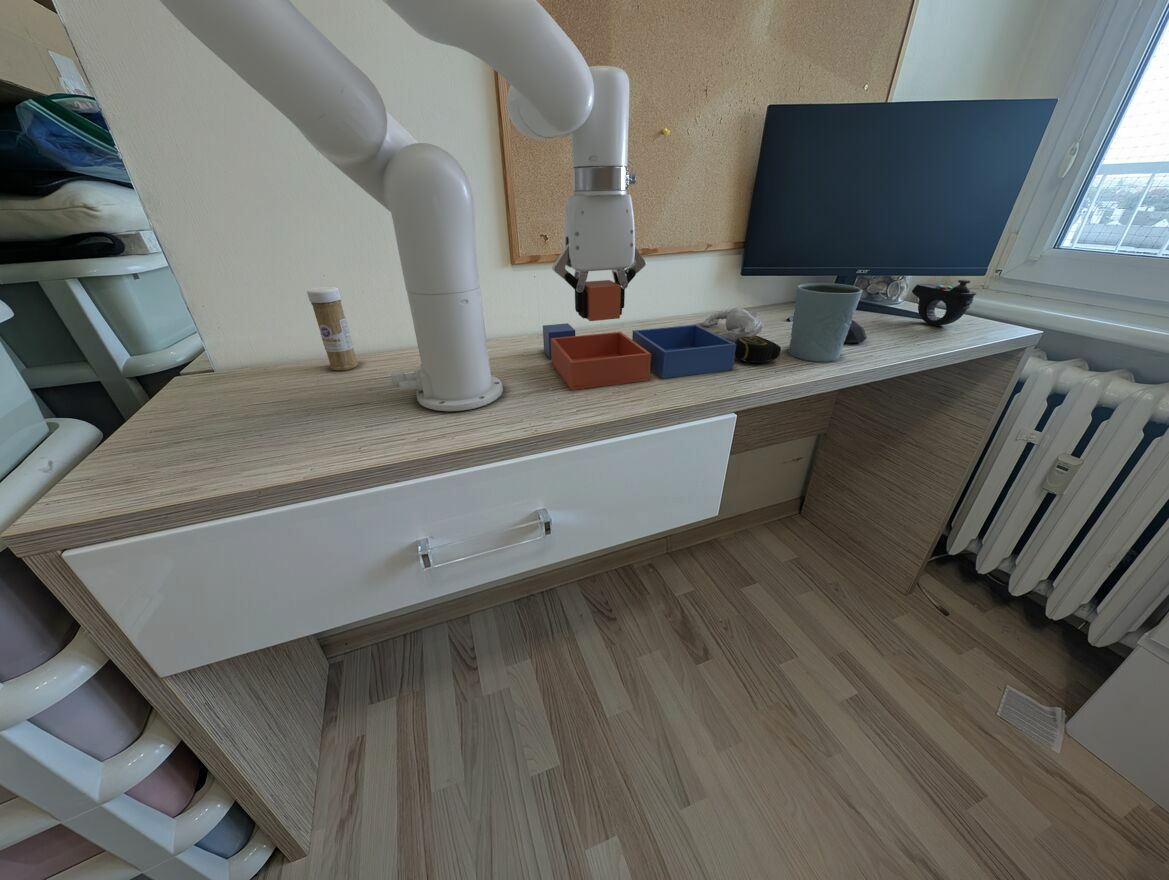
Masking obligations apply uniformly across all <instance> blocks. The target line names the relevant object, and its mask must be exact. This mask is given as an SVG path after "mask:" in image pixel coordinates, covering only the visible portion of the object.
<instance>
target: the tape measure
mask: <svg viewBox="0 0 1169 880" xmlns="http://www.w3.org/2000/svg"><path fill="white" fill-rule="evenodd" d="M735 344H736V350H735V356H734V357H735V358H737V359H739V360H742V361H744V362H746V363H748V364H750V363H760V364H761V363H766V362H769V361H773V360H776V359H778V358H779V357H780V355H781V352H782V347H781V346H779V344H778V343H775V342H774V341H772V340H769V339H767V338H764V337H762V336H759V335H756V336H742V337H739V338H738V339H737V340H736V342H735Z"/></svg>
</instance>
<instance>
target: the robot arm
mask: <svg viewBox="0 0 1169 880" xmlns="http://www.w3.org/2000/svg"><path fill="white" fill-rule="evenodd" d="M159 2H160V3H161V4H162V5H163V6H164V7H165V8H166V9H167V10H168V11H169V12H170V13H171V14H172V16H173V17H174V18H175V19H176V20H177V21H179V22H180V24H182V25H183V26H184V28H185V29H187V30H188V31H189V32H190V33H191V34H192V35H193V36H194V37H196V39H197V40H199V41H200V42H201V43H202V44H203V45H204V46H205V47H206V48H207V49H208V50H210V52H212V53H213V54H214V55H215V56H216V57H217V58H218V59H220V60H221V61H222V62H223V63H224V64H225V65H226V66H227V67H229V68H230V69H231V70H232V71H233V72H235V73H236V75H238V77H240V78H241V79H242V80H243V81H244V82H245V83H246V84H248V86H249V87H251V89H253V90H254V91H256V92H257V93H258V94H259V95H260V96H261V97H263V98H264V99H265V100H266V101H267V102H269V103H270V105H272V106H273V107H274V108H275V109H277V111H279V112H280V113H281V114H282V115H283V116H284V117H285V118H286V119H287V120H289V121H290V122H291V123H292V124H293V125H294V127H296V129H298V131H299V132H300V133H301V135H303V137H304V138H305V139H306V140H307V141H308V143H309V144H310V145H311V146H312V147H313V148H314V149H315V150H316V151H317V152H318V153H319V154H321V156H323V157H324V158H325V159H326V160H328V161H329V162H330V163H331V164H333V166H335V168H337V169H338V170H339V171H340V172H342V173H343V174H344V175H345V176H347V177H348V178H349V179H350V180H352V182H353V183H355V184H356V185H357V186H359V188H361V189H362V190H363V191H364V192H365V193H367V194H368V195H369V196H371V198H373V199H374V200H375V201H377V202H378V203H379V204H380V205H381V206H383V207H384V208H385V209H386V210H387V211H388V212H390V214H391V219H392V224H393V229H394V234H395V235H394V236H395V240H396V245H397V251H398V255H399V262H400V266H401V272H402V276H403V281H404V286H405V291H406V294H407V300H408V304H409V310H410V314H411V318H412V325H413V328H414V333H415V338H416V342H417V343H416V344H417V348H418V354H419V358H420V367H419V368H420V369H413V372H409V373H404V372H403V373H401V372H400V373H393V374H391V377H390V378H391V384H392V387H393V388H399V389H400V392H406V391H411V390H416V400H417V402H418V404H419V405H421V406H422V407H423V408H426V409H429V410H432V411H438V412H462V411H469V410H474V409H478V408H481V407H484V406H487V405H489V404H491V403H493V402H495V401H496V400H498V399H499V398H500V397H501V396H502V394H503V391H504V388H503V383H502V380H500V379H499V378H497V377H496V376H494V375H492V373H491V367H490V357H489V350H488V349H489V347H488V341H487V333H486V332H487V331H486V324H485V316H484V308H483V307H484V306H483V299H482V291H481V283H480V276H479V267H478V258H477V246H476V245H477V243H476V222H475V221H476V220H475V219H476V218H475V214H476V213H475V204H474V203H475V201H474V196H473V195H474V194H473V190H472V187H471V183H470V180H469V178H468V176H467V174H466V172H465V170H464V169H463V167H462V166H461V164H460V162H459V161H458V160H457V159H456V158H455V157H454V156H453V155H452V154H450V153H449V152H448V151H446V150H445V149H443V148H442V147H440V146H437V145H435V144H432V143H428V142H427V143H425V142H419V141H418V140H416V138H415V137H414V136H412V135H411V133H410V132H408V130H406V129H405V128H404V127H403V125H401V124H400V122H398V121H397V120H396V119H395V118H394V117H393V116H392V115H391V114H390V113H389V112H388V111H387V109H386V105H385V103H384V100H383V97H382V95H381V94H380V92H379V90H378V88H377V87H376V85H375V84H374V83H373V82H372V80H371V79H370V78H369V76H367V75H366V73H365V72H363V70H361V69H360V68H359V67H358V66H357V65H356V64H355V63H354V62H352V60H351V59H349V58H348V57H347V56H346V55H345V54H344V53H343V52H342V51H341V50H340V49H338V48H337V46H336V45H334V44H333V43H332V41H330V40H329V39H328V37H326V36H325V34H323V33H322V32H321V31H320V30H319V29H318V28H317V27H316V26H315V25H314V24H313V23H312V22H311V21H310V20H309V19H308V18H307V17H306V16H305V15H304V14H303V13H302V12H301V11H300V10H299V9H298V8H297V7H296V6H295V5H294V4H293V3H292V2H291V1H290V0H159ZM382 2H383V3H385V4H386V5H387V6H388V7H389V8H390V9H391V10H392V11H393V12H394V13H395V14H397V15H398V17H400V18H401V19H402V20H403V21H404V23H406V24H407V25H408V26H409V28H411V29H412V30H413V31H414V32H415V33H417V34H419V35H420V36H421V37H424V38H426V39H428V40H429V41H432V42H435V43H438V44H441V45H445V46H450V47H454V48H457V49H460V50H463V51H464V52H466V53H469V54H470V55H472V56H474V57H476V58H477V59H479V60H481V62H483V63H485V64H486V65H487V66H489V67H490V68H491V69H492V70H494V71H495V72H496V73H497V74H498V75H500V76H501V77H502V78H503V79H504V80H505V81H506V82H507V83H508V84H510V85H509V88H508V91H507V96H506V108H507V114H508V117H509V120H511V123H512V125H513V127H514V128H515V129H516V130H517V131H518V132H519V134H521V135H523V136H524V137H526V138H528V139H531V140H534V141H547V140H553V139H561V138H568V137H570V138H571V147H572V148H571V153H572V154H571V155H572V190H573V191H572V192H573V194H572V195H567V198H566V205H565V215H564V228H563V229H564V231H563V249H562V251H561V252H560V254H559V255H558V257H557V259H556V260H555V262H554V263H553V264H552V266H551V269H552V271H553V272H554V273H555V274H556V275H558V276H559V277H560V278H562V279H563V280H564V281H565V282H566V283H567V284H568V285H569V286H570V287H571V288H572V289H573V290H574V309H575V312H576V313H578V315H579V317H581V318H582V319H586V318H587V317H588V296H587V292H585V284H586V282H587V280H588V277H589V272H598V271H611V274H612V278H613V282H615V283H617V284H619V285H621V293H620V316H622V315H623V309H624V308H625V301H626V299H625V297H626V296H625V294H626V293H625V292H626V289H627V288H628V287H629V284H630V283H631V281H632V280H633V279H634V278H635V276H636V275H637V274H638V273H639V272H640V271H641V270H643V268H645V267H646V264H647V262H646V260H645V258H644V257H643V256H642V254H641V253H640V251H639V250H638V248H637V247H636V231H635V229H636V228H635V216H634V208H633V200H632V195H631V194H630V193H629V194H628V191H627V190H629V186H631V185H635V184H636V182H637V175H636V173H631V172H630V170H629V167H628V162H629V161H628V158H629V126H630V125H629V122H630V121H629V119H630V79H629V76H628V74H627V72H626V71H625V70H624V69H622V68H620V67H617V66H613V65H592V66H591V65H590V66H589V65H588V63H587V61H586V60H585V58H584V56H583V54H582V53H581V52H580V50H579V49H578V47H577V45H575V43H574V42H573V41H572V39H571V38H570V37H569V36H568V35H567V34H566V32H565V31H564V30H563V29H562V27H560V25H559V24H558V23H557V21H556V20H554V18H553V17H552V16H551V15H550V14H549V12H547V10H546V9H545V8H544V7H543V6H542V5H541V3H540V2H538V1H537V0H382ZM566 266H567V267H569V268H572V269H573V270H574V274H572V273H571V272H570V271H568V270H567V269H566Z"/></svg>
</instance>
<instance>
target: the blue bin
mask: <svg viewBox="0 0 1169 880" xmlns="http://www.w3.org/2000/svg"><path fill="white" fill-rule="evenodd" d="M631 335H632V336H631V340H633V341H634V342H636V343H637V344H638V345H640V346H641V347H642V348H644V349H645V350H647V351H648V352H649V353H651V363H650V371H652V372H653V373H654V374H655V375H657V376H658V377H660V378H661V379H662V380H663V379H670V378H678V377H687V376H694V375H702V374H710V373H717V372H718V373H719V372H725V371H726V372H727V371H732V370H733V367H734V361H735V357H736V356H735V350H736V344H735V343H734V342H731V341H729V340H727V339H725V338H722V337H720V336H718V334H716V333H715V332H712V331H710V330H708V329H706V328H704V327H702V326H700V325H698V324H689V325H688V324H687V325H677V326H668V327H667V326H666V327H665V326H664V327H656V328H647V329H636V330H635V329H634V330H632V334H631Z"/></svg>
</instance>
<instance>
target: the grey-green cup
mask: <svg viewBox="0 0 1169 880" xmlns="http://www.w3.org/2000/svg"><path fill="white" fill-rule="evenodd" d="M862 294H863V289H862V288H861V287H859V286H857V285H856V286H855V285H850V284H845V283H843V284H842V283H833V282H831V283H830V282H810V283H801V284H798V285H797V287H796V292H795V303H794V311H793V317H792V318H793V319H792V324H791V325H792V326H791V333H790V335H791V336H790V337H791V338H790V341H789V346H788V347H789V348H788V353H789V354H790V355H791V356H793V357H795V358H797V359H801V360H804V361H809V362H823V363H824V362H825V363H827V362H828V363H829V362H834V361H837V360H838V359H839V358H840V356H841V353H842V351H843V348H844V343H845V342H844V341H845V339H846V336H847V333H848V330H849V327H850V325H851V322H852V320H853V319H854V315H855V312H856V309H857V308H858V305H859V301H860V299H861V297H862Z"/></svg>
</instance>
